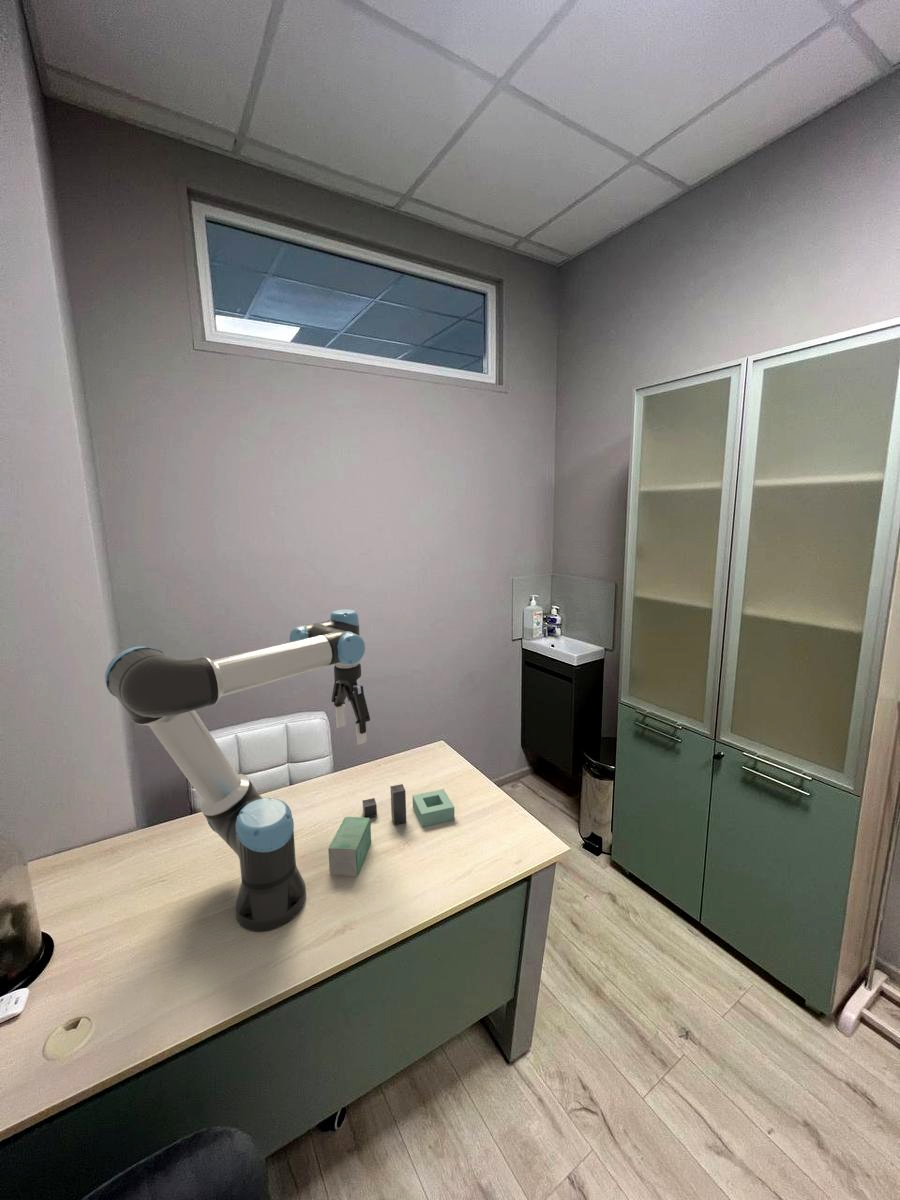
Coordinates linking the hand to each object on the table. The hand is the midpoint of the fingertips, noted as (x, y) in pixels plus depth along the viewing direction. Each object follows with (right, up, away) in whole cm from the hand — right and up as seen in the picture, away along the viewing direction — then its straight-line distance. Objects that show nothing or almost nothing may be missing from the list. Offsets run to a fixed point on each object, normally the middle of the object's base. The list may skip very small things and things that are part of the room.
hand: (351, 734), depth 138 cm
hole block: (+24, -25, +4) cm, 35 cm away
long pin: (+14, -26, +1) cm, 29 cm away
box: (+3, -29, -13) cm, 32 cm away
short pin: (+5, -25, +4) cm, 26 cm away
